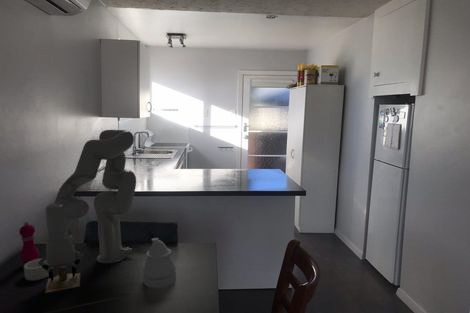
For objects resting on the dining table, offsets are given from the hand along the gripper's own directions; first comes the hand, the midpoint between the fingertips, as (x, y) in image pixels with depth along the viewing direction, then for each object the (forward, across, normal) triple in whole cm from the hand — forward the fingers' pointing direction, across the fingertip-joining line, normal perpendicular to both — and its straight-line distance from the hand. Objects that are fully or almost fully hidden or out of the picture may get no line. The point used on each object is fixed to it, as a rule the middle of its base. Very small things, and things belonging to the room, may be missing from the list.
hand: (63, 277), depth 138 cm
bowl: (+3, +10, -12) cm, 16 cm away
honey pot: (+3, -36, +13) cm, 38 cm away
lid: (+2, 0, 0) cm, 2 cm away
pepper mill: (+3, +15, -26) cm, 30 cm away
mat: (+3, 0, 0) cm, 3 cm away
